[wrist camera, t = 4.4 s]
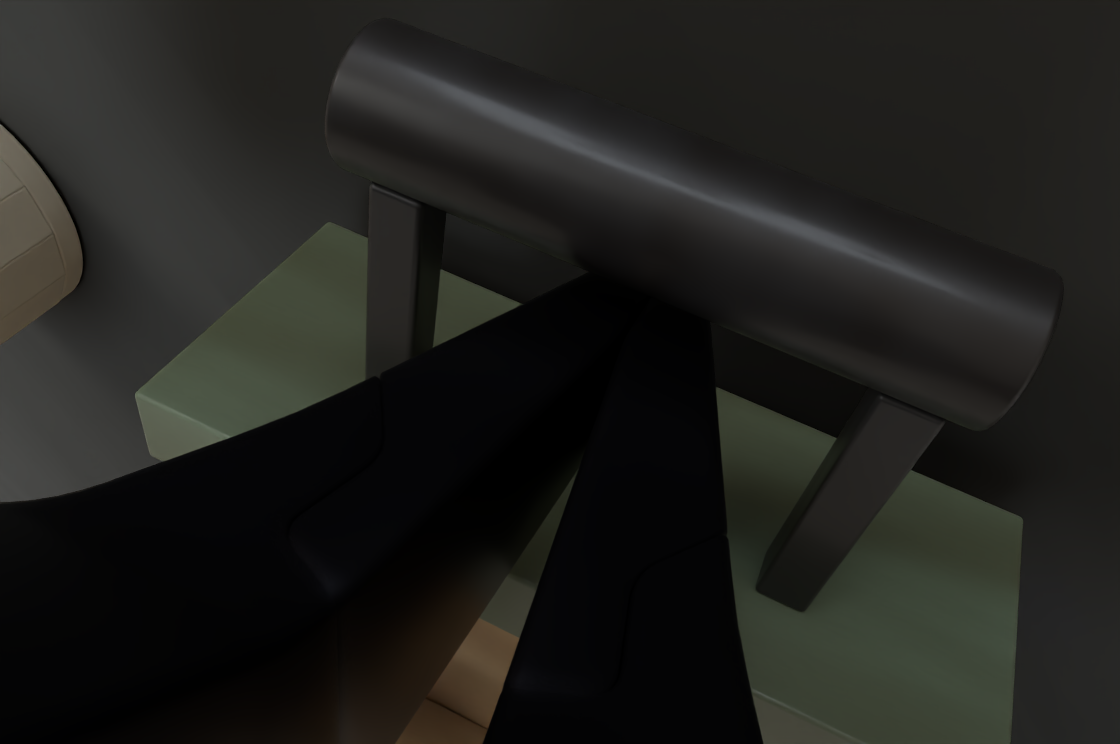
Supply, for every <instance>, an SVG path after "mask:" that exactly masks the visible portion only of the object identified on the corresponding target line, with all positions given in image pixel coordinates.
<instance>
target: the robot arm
mask: <svg viewBox="0 0 1120 744" xmlns="http://www.w3.org/2000/svg"><path fill="white" fill-rule="evenodd" d="M578 468H579V469H578ZM577 470H578V472H577ZM576 472H577V474H576V477H575V480H574V483H573V486H572V489H571V492H570V495H569V497H568V500H567V503H566V506H565V509H564V512H563V515H562V518H561V520H560V523H559V526H558V529H557V532H556V535H555V538H554V541H553V543H552V546H551V549H550V552H549V555H548V558H547V561H546V564H545V566H544V569H543V572H542V575H541V578H540V581H539V584H538V587H537V589H536V592H535V595H534V598H533V601H532V604H531V607H530V610H529V612H528V615H527V618H526V621H525V624H524V627H523V630H522V633H521V635H520V638H519V641H518V644H517V647H516V650H515V653H514V656H513V658H512V661H511V664H510V667H509V670H508V673H507V676H506V679H505V681H504V684H503V688H502V691H501V694H500V696H499V699H498V701H497V704H496V707H495V710H494V713H493V716H492V719H491V721H490V724H489V727H488V730H487V733H486V735H485V738H484V741H483V744H764V743H763V739H762V735H761V730H760V726H759V722H758V717H757V713H756V709H755V704H754V700H753V695H752V691H751V687H750V682H749V677H748V672H747V667H746V662H745V657H744V652H743V647H742V642H741V636H740V631H739V626H738V619H737V611H736V603H735V595H734V587H733V579H732V570H731V558H730V546H729V539H728V537H727V536H726V535H727V532H728V528H727V516H726V504H725V492H724V480H723V468H722V456H721V444H720V432H719V420H718V408H717V396H716V384H715V372H714V360H713V348H712V337H711V325H710V321H708V320H705V319H703V318H700V317H698V316H696V315H693V314H691V313H688V312H686V311H683V310H681V309H679V308H676V307H674V306H671V305H669V304H667V303H664V302H662V301H659V300H657V299H655V298H652V297H650V296H647V295H645V294H643V293H640V292H638V291H635V290H633V289H630V288H628V287H626V286H623V285H621V284H618V283H616V282H614V281H611V280H609V279H606V278H604V277H602V276H599V275H597V274H594V273H592V272H588V273H586V274H584V275H582V276H580V277H578V278H576V279H574V280H571V281H569V282H567V283H565V284H563V285H561V286H559V287H557V288H555V289H553V290H551V291H549V292H547V293H545V294H543V295H541V296H538V297H536V298H534V299H532V300H530V301H528V302H526V303H524V304H522V305H520V306H518V307H516V308H514V309H512V310H510V311H508V312H506V313H503V314H501V315H499V316H497V317H495V318H493V319H491V320H489V321H487V322H485V323H483V324H481V325H479V326H477V327H475V328H473V329H470V330H468V331H466V332H464V333H462V334H460V335H458V336H456V337H454V338H452V339H450V340H448V341H446V342H444V343H442V344H440V345H437V346H435V347H433V348H431V349H429V350H427V351H425V352H423V353H421V354H419V355H417V356H415V357H413V358H411V359H409V360H407V361H405V362H402V363H400V364H398V365H396V366H394V367H392V368H390V369H388V370H386V371H384V372H382V373H381V374H380V379H379V378H378V377H376V376H373V377H371V378H369V379H367V380H365V381H363V382H360V383H358V384H356V385H354V386H352V387H350V388H348V389H346V390H344V391H342V392H340V393H337V394H335V395H333V396H331V397H328V398H326V399H324V400H322V401H320V402H317V403H315V404H313V405H311V406H308V407H306V408H304V409H302V410H300V411H297V412H295V413H293V414H290V415H287V416H285V417H282V418H280V419H277V420H275V421H272V422H269V423H267V424H264V425H262V426H259V427H257V428H254V429H251V430H249V431H246V432H244V433H241V434H238V435H236V436H233V437H230V438H227V439H225V440H222V441H219V442H216V443H213V444H211V445H208V446H205V447H202V448H200V449H197V450H194V451H191V452H189V453H186V454H183V455H180V456H177V457H175V458H172V459H169V460H166V461H164V462H161V463H158V464H155V465H152V466H150V467H147V468H144V469H141V470H139V471H136V472H133V473H130V474H128V475H125V476H122V477H119V478H116V479H114V480H111V481H108V482H105V483H102V484H99V485H96V486H93V487H90V488H87V489H83V490H80V491H76V492H72V493H67V494H63V495H59V496H54V497H48V498H42V499H36V500H28V501H16V502H0V744H395V743H396V742H397V740H398V739H399V737H400V736H401V734H402V733H403V731H404V730H405V728H406V727H407V725H408V724H409V722H410V721H411V719H412V718H413V716H414V715H415V713H416V712H417V710H418V709H419V707H420V706H421V704H422V703H423V701H424V700H425V698H426V697H427V695H428V694H429V692H430V691H431V689H432V688H433V686H434V685H435V683H436V682H437V680H438V679H439V677H440V676H441V674H442V673H443V671H444V670H445V668H446V667H447V665H448V664H449V662H450V661H451V659H452V658H453V656H454V655H455V653H456V652H457V650H458V649H459V647H460V646H461V644H462V643H463V641H464V640H465V638H466V637H467V635H468V634H469V632H470V631H471V629H472V628H473V626H474V625H475V623H476V622H477V620H478V619H479V617H480V616H481V614H482V613H483V611H484V610H485V608H486V607H487V605H488V604H489V602H490V601H491V599H492V598H493V596H494V595H495V593H496V592H497V590H498V589H499V587H500V586H501V584H502V583H503V581H504V580H505V578H506V577H507V575H508V574H509V572H510V571H511V569H512V568H513V566H514V565H515V563H516V562H517V560H518V559H519V557H520V556H521V554H522V553H523V551H524V550H525V548H526V547H527V545H528V544H529V542H530V541H531V539H532V538H533V536H534V535H535V533H536V532H537V530H538V529H539V527H540V526H541V524H542V523H543V521H544V520H545V518H546V517H547V515H548V514H549V512H550V511H551V509H552V508H553V506H554V505H555V503H556V502H557V500H558V499H559V497H560V496H561V494H562V493H563V491H564V490H565V488H566V487H567V485H568V484H569V482H570V481H571V479H572V478H573V476H574V475H575V473H576Z"/></svg>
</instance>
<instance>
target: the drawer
mask: <svg viewBox="0 0 1120 744" xmlns="http://www.w3.org/2000/svg"><path fill="white" fill-rule="evenodd" d="M325 138H326V144H327V148H328V151H329V153H330V155H331V157H332V159H333V160H334V161H335V162H336V164H337V165H338V166H340V167H341V168H342V169H344V170H346V171H349V172H351V173H353V174H356V175H358V176H361V177H363V178H365V179H368V180H370V181H372V183H371V184H370V187H369V218H368V238H367V237H364V236H362V235H360V234H357V233H355V232H353V231H350V230H348V229H346V228H343V227H341V226H339V225H336V224H334V223H332V222H328V223H326V224H325V225H324V226H323V227H322V228H321V229H320V230H318V231H317V232H316V233H315V234H314V235H313V236H312V237H311V238H309V239H308V240H307V241H306V242H305V243H304V244H303V245H302V246H300V247H299V248H298V249H297V250H296V251H295V252H294V253H292V254H291V255H290V256H289V257H288V258H287V259H286V260H285V261H283V262H282V263H281V264H280V265H279V266H278V267H277V268H276V269H274V270H273V271H272V272H271V273H270V274H269V275H268V276H267V277H265V278H264V279H263V280H262V281H261V282H260V283H259V284H257V285H256V286H255V287H254V288H253V289H252V290H251V291H250V292H248V293H247V294H246V295H245V296H244V297H243V298H242V299H241V300H239V301H238V302H237V303H236V304H235V305H234V306H233V307H232V308H230V309H229V310H228V311H227V312H226V313H225V314H224V315H222V316H221V317H220V318H219V319H218V320H217V321H216V322H215V323H213V324H212V325H211V326H210V327H209V328H208V329H207V330H206V331H204V332H203V333H202V334H201V335H200V336H199V337H198V338H197V339H195V340H194V341H193V342H192V343H191V344H190V345H189V346H187V347H186V348H185V349H184V350H183V351H182V352H181V353H180V354H178V355H177V356H176V357H175V358H174V359H173V360H172V361H171V362H169V363H168V364H167V365H166V366H165V367H164V368H163V369H162V370H160V371H159V372H158V373H157V374H156V375H155V376H154V377H152V378H151V379H150V380H149V381H148V382H147V383H146V384H145V385H143V386H142V387H141V388H140V389H139V390H138V391H137V392H136V394H135V399H136V403H137V406H138V410H139V414H140V418H141V422H142V426H143V430H144V434H145V437H146V441H147V445H148V449H149V453H150V454H151V456H153V457H155V458H157V459H159V460H161V461H163V462H164V461H166V460H169V459H172V458H175V457H177V456H180V455H183V454H186V453H189V452H191V451H194V450H197V449H200V448H202V447H205V446H208V445H211V444H213V443H216V442H219V441H222V440H225V439H227V438H230V437H233V436H236V435H238V434H241V433H244V432H246V431H249V430H251V429H254V428H257V427H259V426H262V425H264V424H267V423H269V422H272V421H275V420H277V419H280V418H282V417H285V416H287V415H290V414H293V413H295V412H297V411H300V410H302V409H304V408H306V407H308V406H311V405H313V404H315V403H317V402H320V401H322V400H324V399H326V398H328V397H331V396H333V395H335V394H337V393H340V392H342V391H344V390H346V389H348V388H350V387H352V386H354V385H356V384H358V383H360V382H363V381H365V380H367V379H369V378H371V377H373V376H376V377H378V378H379V379H380V374H381V373H382V372H384V371H386V370H388V369H390V368H392V367H394V366H396V365H398V364H400V363H402V362H405V361H407V360H409V359H411V358H413V357H415V356H417V355H419V354H421V353H423V352H425V351H427V350H429V349H431V348H433V347H435V346H437V345H440V344H442V343H444V342H446V341H448V340H450V339H452V338H454V337H456V336H458V335H460V334H462V333H464V332H466V331H468V330H470V329H473V328H475V327H477V326H479V325H481V324H483V323H485V322H487V321H489V320H491V319H493V318H495V317H497V316H499V315H501V314H503V313H506V312H508V311H510V310H512V309H514V308H516V307H518V306H520V305H522V304H521V303H519V302H516V301H514V300H512V299H509V298H507V297H505V296H502V295H500V294H498V293H495V292H493V291H491V290H488V289H486V288H484V287H481V286H479V285H477V284H474V283H472V282H470V281H467V280H465V279H463V278H460V277H458V276H456V275H453V274H451V273H449V272H446V271H444V270H442V269H441V261H442V251H443V240H444V230H445V220H446V212H447V213H450V214H452V215H455V216H457V217H459V218H462V219H464V220H467V221H469V222H471V223H474V224H476V225H479V226H481V227H483V228H486V229H488V230H491V231H493V232H496V233H498V234H500V235H503V236H505V237H508V238H510V239H512V240H515V241H517V242H520V243H522V244H524V245H527V246H529V247H532V248H534V249H536V250H539V251H541V252H544V253H546V254H549V255H551V256H553V257H556V258H558V259H561V260H563V261H565V262H568V263H570V264H573V265H575V266H577V267H580V268H582V269H585V270H587V271H590V272H592V273H594V274H597V275H599V276H602V277H604V278H606V279H609V280H611V281H614V282H616V283H618V284H621V285H623V286H626V287H628V288H630V289H633V290H635V291H638V292H640V293H643V294H645V295H647V296H650V297H652V298H655V299H657V300H659V301H662V302H664V303H667V304H669V305H671V306H674V307H676V308H679V309H681V310H683V311H686V312H688V313H691V314H693V315H696V316H698V317H700V318H703V319H705V320H708V321H710V322H712V323H715V324H717V325H720V326H722V327H724V328H727V329H729V330H732V331H734V332H736V333H739V334H741V335H744V336H746V337H749V338H751V339H753V340H756V341H758V342H761V343H763V344H765V345H768V346H770V347H773V348H775V349H777V350H780V351H782V352H785V353H787V354H790V355H792V356H794V357H797V358H799V359H802V360H804V361H806V362H809V363H811V364H814V365H816V366H818V367H821V368H823V369H826V370H828V371H830V372H833V373H835V374H838V375H840V376H843V377H845V378H847V379H850V380H852V381H855V382H857V383H859V384H862V385H864V386H867V387H868V389H867V391H866V392H865V394H864V395H863V397H862V399H861V400H860V402H859V404H858V405H857V407H856V408H855V410H854V412H853V413H852V415H851V416H850V418H849V420H848V421H847V423H846V424H845V426H844V428H843V429H842V431H841V432H840V434H839V436H838V437H837V438H835V437H832V436H830V435H828V434H825V433H823V432H821V431H818V430H816V429H814V428H811V427H809V426H807V425H804V424H802V423H800V422H797V421H795V420H793V419H790V418H788V417H786V416H783V415H781V414H779V413H776V412H774V411H772V410H769V409H767V408H765V407H762V406H760V405H758V404H755V403H753V402H751V401H748V400H746V399H744V398H741V397H739V396H736V395H734V394H732V393H729V392H727V391H725V390H722V389H720V388H718V387H716V396H717V408H718V420H719V432H720V444H721V456H722V468H723V480H724V492H725V504H726V516H727V528H728V532H727V535H726V536H727V537H728V539H729V546H730V558H731V570H732V579H733V587H734V595H735V603H736V611H737V619H738V626H739V631H740V636H741V642H742V647H743V652H744V657H745V662H746V667H747V672H748V677H749V682H750V687H751V691H752V695H753V700H754V704H755V709H756V713H757V717H758V722H759V726H760V730H761V735H762V739H763V743H764V744H1011V729H1012V711H1013V693H1014V676H1015V658H1016V640H1017V622H1018V604H1019V586H1020V568H1021V550H1022V532H1023V519H1022V518H1021V517H1020V516H1017V515H1015V514H1013V513H1010V512H1008V511H1006V510H1003V509H1001V508H999V507H996V506H994V505H992V504H989V503H987V502H985V501H982V500H980V499H978V498H975V497H973V496H971V495H968V494H966V493H964V492H961V491H959V490H957V489H954V488H952V487H950V486H947V485H945V484H942V483H940V482H938V481H935V480H933V479H931V478H928V477H926V476H924V475H921V474H919V473H917V472H914V471H912V470H911V469H912V468H913V466H914V465H915V463H916V462H917V461H918V459H919V458H920V457H921V455H922V454H923V453H924V451H925V450H926V449H927V447H928V446H929V445H930V443H931V442H932V441H933V439H934V438H935V437H936V435H937V434H938V433H939V431H940V430H941V429H942V427H943V426H944V425H945V421H946V420H949V421H951V422H953V423H956V424H958V425H961V426H963V427H965V428H968V429H970V430H973V431H983V430H986V429H988V428H990V427H992V426H993V425H994V424H996V423H997V422H998V421H999V420H1000V419H1001V418H1002V417H1003V416H1004V415H1005V414H1006V413H1007V412H1008V411H1009V410H1010V408H1011V407H1012V406H1013V405H1014V404H1015V402H1016V401H1017V400H1018V398H1019V397H1020V396H1021V394H1022V393H1023V391H1024V390H1025V388H1026V387H1027V385H1028V384H1029V382H1030V381H1031V379H1032V377H1033V375H1034V374H1035V372H1036V370H1037V368H1038V366H1039V365H1040V363H1041V361H1042V359H1043V357H1044V355H1045V352H1046V350H1047V348H1048V346H1049V343H1050V341H1051V339H1052V336H1053V333H1054V331H1055V328H1056V325H1057V322H1058V319H1059V315H1060V311H1061V306H1062V300H1063V291H1064V287H1063V280H1062V278H1061V276H1060V275H1059V274H1058V273H1057V272H1056V271H1055V270H1053V269H1050V268H1048V267H1045V266H1043V265H1040V264H1037V263H1035V262H1032V261H1029V260H1027V259H1024V258H1021V257H1019V256H1016V255H1014V254H1011V253H1008V252H1006V251H1003V250H1000V249H998V248H995V247H992V246H990V245H987V244H985V243H982V242H979V241H977V240H974V239H971V238H969V237H966V236H963V235H961V234H958V233H956V232H953V231H950V230H948V229H945V228H942V227H940V226H937V225H935V224H932V223H929V222H927V221H924V220H921V219H919V218H916V217H913V216H911V215H908V214H906V213H903V212H900V211H898V210H895V209H892V208H890V207H887V206H884V205H882V204H879V203H877V202H874V201H871V200H869V199H866V198H863V197H861V196H858V195H855V194H853V193H850V192H848V191H845V190H842V189H840V188H837V187H834V186H832V185H829V184H826V183H824V182H821V181H819V180H816V179H813V178H811V177H808V176H805V175H803V174H800V173H797V172H795V171H792V170H790V169H787V168H784V167H782V166H779V165H776V164H774V163H771V162H768V161H766V160H763V159H761V158H758V157H755V156H753V155H750V154H747V153H745V152H742V151H740V150H737V149H734V148H732V147H729V146H726V145H724V144H721V143H718V142H716V141H713V140H711V139H708V138H705V137H703V136H700V135H697V134H695V133H692V132H689V131H687V130H684V129H682V128H679V127H676V126H674V125H671V124H668V123H666V122H663V121H660V120H658V119H655V118H653V117H650V116H647V115H645V114H642V113H639V112H637V111H634V110H631V109H629V108H626V107H624V106H621V105H618V104H616V103H613V102H610V101H608V100H605V99H602V98H600V97H597V96H595V95H592V94H589V93H587V92H584V91H581V90H579V89H576V88H573V87H571V86H568V85H566V84H563V83H560V82H558V81H555V80H552V79H550V78H547V77H545V76H542V75H539V74H537V73H534V72H531V71H529V70H526V69H523V68H521V67H518V66H516V65H513V64H510V63H508V62H505V61H502V60H500V59H497V58H494V57H492V56H489V55H487V54H484V53H481V52H479V51H476V50H473V49H471V48H468V47H465V46H463V45H460V44H458V43H455V42H452V41H450V40H447V39H444V38H442V37H439V36H436V35H434V34H431V33H429V32H426V31H423V30H421V29H418V28H415V27H413V26H410V25H407V24H405V23H402V22H400V21H397V20H394V19H390V18H386V19H378V20H375V21H373V22H371V23H369V24H368V25H366V26H365V27H364V28H363V29H362V30H361V31H360V32H359V33H358V34H357V35H356V36H355V37H354V39H353V40H352V41H351V43H350V44H349V46H348V47H347V49H346V51H345V52H344V54H343V56H342V58H341V60H340V62H339V64H338V66H337V69H336V72H335V74H334V77H333V80H332V83H331V86H330V90H329V94H328V99H327V104H326V112H325ZM578 469H579V468H578ZM577 472H578V470H577ZM577 472H576V473H575V475H574V476H573V478H572V479H571V481H570V482H569V484H568V485H567V487H566V488H565V490H564V491H563V493H562V494H561V496H560V497H559V499H558V500H557V502H556V503H555V505H554V506H553V508H552V509H551V511H550V512H549V514H548V515H547V517H546V518H545V520H544V521H543V523H542V524H541V526H540V527H539V529H538V530H537V532H536V533H535V535H534V536H533V538H532V539H531V541H530V542H529V544H528V545H527V547H526V548H525V550H524V551H523V553H522V554H521V556H520V557H519V559H518V560H517V562H516V563H515V565H514V566H513V568H512V569H511V571H510V572H509V574H508V575H507V577H506V578H505V580H504V581H503V583H502V584H501V586H500V587H499V589H498V590H497V592H496V593H495V595H494V596H493V598H492V599H491V601H490V602H489V604H488V605H487V607H486V608H485V610H484V611H483V613H482V614H481V616H480V617H479V619H478V620H477V622H476V623H475V625H474V626H473V628H472V629H471V631H470V632H469V634H468V635H467V637H466V638H465V640H464V641H463V643H462V644H461V646H460V647H459V649H458V650H457V652H456V653H455V655H454V656H453V658H452V659H451V661H450V662H449V664H448V665H447V667H446V668H445V670H444V671H443V673H442V674H441V676H440V677H439V679H438V680H437V682H436V683H435V685H434V686H433V688H432V689H431V691H430V692H429V694H428V695H427V697H426V698H425V700H424V701H423V703H422V704H421V706H420V707H419V709H418V710H417V712H416V713H415V715H414V716H413V718H412V719H411V721H410V722H409V724H408V725H407V727H406V728H405V730H404V731H403V733H402V734H401V736H400V737H399V739H398V740H397V742H396V743H395V744H483V741H484V738H485V735H486V733H487V730H488V727H489V724H490V721H491V719H492V716H493V713H494V710H495V707H496V704H497V701H498V699H499V696H500V694H501V691H502V688H503V684H504V681H505V679H506V676H507V673H508V670H509V667H510V664H511V661H512V658H513V656H514V653H515V650H516V647H517V644H518V641H519V638H520V635H521V633H522V630H523V627H524V624H525V621H526V618H527V615H528V612H529V610H530V607H531V604H532V601H533V598H534V595H535V592H536V589H537V587H538V584H539V581H540V578H541V575H542V572H543V569H544V566H545V564H546V561H547V558H548V555H549V552H550V549H551V546H552V543H553V541H554V538H555V535H556V532H557V529H558V526H559V523H560V520H561V518H562V515H563V512H564V509H565V506H566V503H567V500H568V497H569V495H570V492H571V489H572V486H573V483H574V480H575V477H576V474H577Z"/></svg>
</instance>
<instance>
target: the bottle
mask: <svg viewBox="0 0 1120 744" xmlns="http://www.w3.org/2000/svg"><path fill="white" fill-rule="evenodd" d="M82 269H83V255H82V249H81V244H80V240H79V237H78V234H77V231H76V228H75V225H74V223H73V221H72V218H71V216H70V214H69V212H68V210H67V208H66V206H65V204H64V202H63V200H62V199H61V197H60V195H59V194H58V192H57V190H56V189H55V187H54V186H53V184H52V182H51V181H50V180H49V178H48V177H47V176H46V174H45V173H44V171H43V170H42V169H41V167H40V166H39V165H38V164H37V162H36V161H35V160H34V159H33V157H32V156H31V155H30V154H29V153H28V151H27V150H26V149H25V148H24V147H23V146H22V145H21V144H20V143H19V142H18V141H17V140H16V138H15V137H14V136H13V135H12V134H11V133H9V132H8V131H7V130H6V129H5V128H4V127H3V126H2V125H1V124H0V345H1V344H3V343H4V342H5V341H7V340H8V339H9V338H11V337H12V336H14V335H15V334H16V333H18V332H19V331H20V330H22V329H23V328H25V327H26V326H27V325H29V324H30V323H31V322H33V321H34V320H35V319H37V318H38V317H40V316H41V315H42V314H44V313H45V312H46V311H48V310H49V309H51V308H52V307H53V306H55V305H56V304H57V303H59V302H60V300H61V299H63V298H64V297H65V296H67V295H68V294H69V293H71V292H72V291H73V290H74V289H75V288H76V286H77V285H78V283H79V281H80V278H81V275H82Z"/></svg>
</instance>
